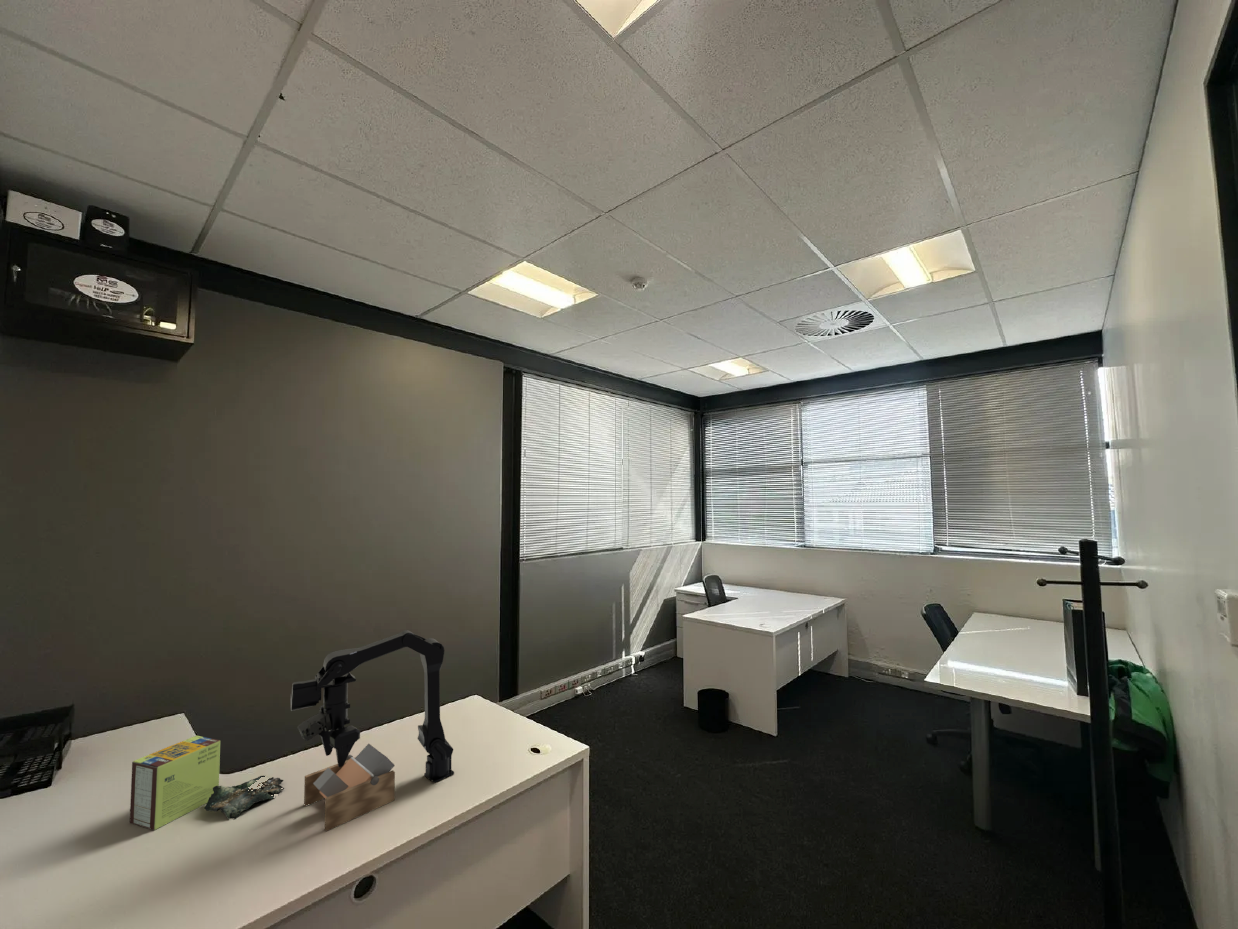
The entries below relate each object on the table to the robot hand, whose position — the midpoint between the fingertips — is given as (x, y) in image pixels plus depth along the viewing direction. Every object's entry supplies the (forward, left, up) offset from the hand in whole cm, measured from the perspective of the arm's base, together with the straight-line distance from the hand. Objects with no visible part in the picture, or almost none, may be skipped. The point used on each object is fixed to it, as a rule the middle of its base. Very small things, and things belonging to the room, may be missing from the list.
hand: (334, 760), depth 136 cm
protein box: (+28, -33, -13) cm, 45 cm away
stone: (-1, 0, -8) cm, 8 cm away
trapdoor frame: (-4, 0, -12) cm, 13 cm away
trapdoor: (-8, 0, -9) cm, 12 cm away
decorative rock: (+14, -24, -13) cm, 31 cm away
